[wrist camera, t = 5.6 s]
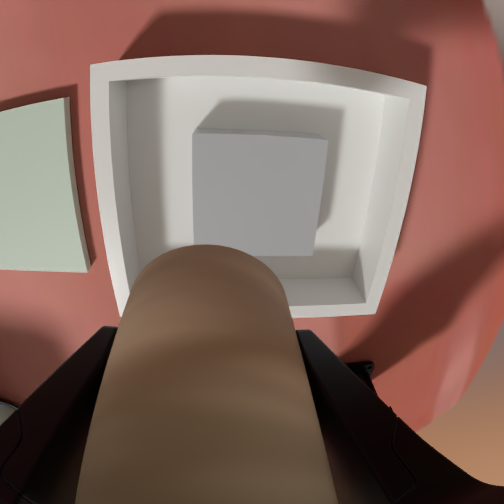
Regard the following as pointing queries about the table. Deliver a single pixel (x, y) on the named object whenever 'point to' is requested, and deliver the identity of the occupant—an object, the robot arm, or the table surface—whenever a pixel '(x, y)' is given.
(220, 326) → the birch cylinder
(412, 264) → the table surface
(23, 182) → the green pad
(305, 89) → the tray
